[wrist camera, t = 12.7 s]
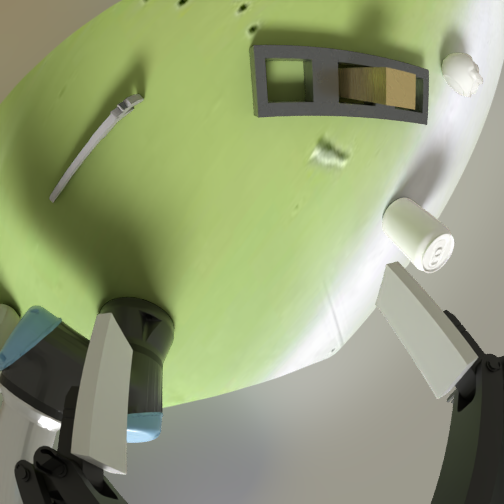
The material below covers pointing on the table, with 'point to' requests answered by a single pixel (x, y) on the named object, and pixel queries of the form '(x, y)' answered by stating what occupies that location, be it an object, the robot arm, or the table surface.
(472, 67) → the white rounded lump
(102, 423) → the robot arm
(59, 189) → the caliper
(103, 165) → the table surface
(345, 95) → the wooden peg
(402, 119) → the grey slotted holder
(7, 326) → the glass bottle
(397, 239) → the beverage can
